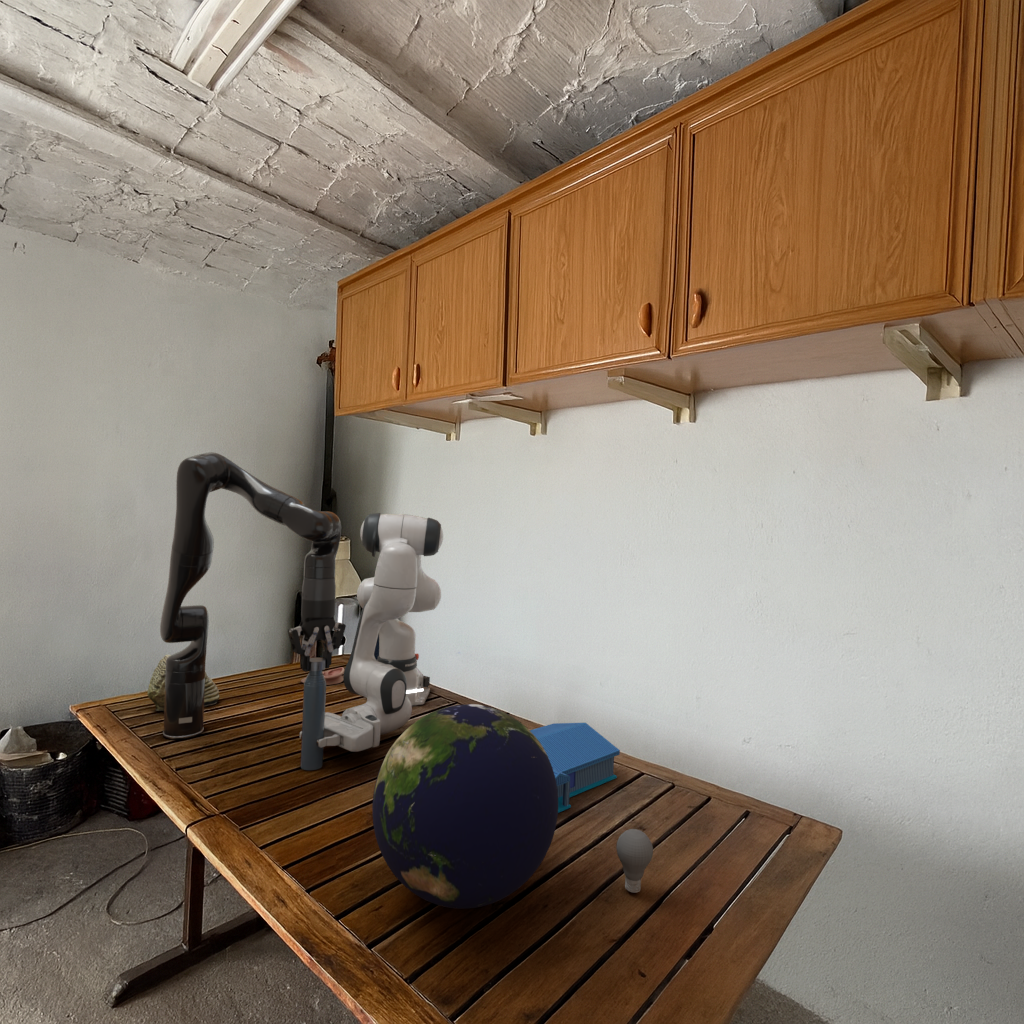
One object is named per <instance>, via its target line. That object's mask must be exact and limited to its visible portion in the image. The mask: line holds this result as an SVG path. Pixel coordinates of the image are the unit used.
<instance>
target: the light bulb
mask: <svg viewBox="0 0 1024 1024" xmlns="http://www.w3.org/2000/svg"><path fill="white" fill-rule="evenodd" d="M615 849H616V854H617V857H618V859H619V861H620V863H621V865H622V867H623V873H624V874H623V875H624V876H625V878H624V888H625V890H627V891H628V892H630V893H634V894H635V893H639V892H640V891H641V889H642V887H641V886H642V879H643V877H644V875H645V871H646V868H647V867H648V866H649V864H650V863H651V861H652V859H653V855H654V847H653V843H652V841H651V838H649V836H648V835H647V834H646V833H645V832H643V831H642V830H641V829H636V828H629V829H627V830H625V831H623V832H622V833H621V834H620V835H619V837H618V839H617V841H616V847H615Z"/></svg>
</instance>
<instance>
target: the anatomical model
mask: <svg viewBox="0 0 1024 1024" xmlns="http://www.w3.org/2000/svg"><path fill="white" fill-rule="evenodd" d="M344 671H345V668H344V667H341V666H340V667H336V668H332V669H328V670H325V671H322V673H323V675H324V677H325V680H326V686H329V685H336V684H341V683H342V682H344V679H343V675H344ZM306 678H307V676H305V677H303V678H302V679H300V682H301V683H303V684H304V682H305V680H306Z"/></svg>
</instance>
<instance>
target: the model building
mask: <svg viewBox="0 0 1024 1024" xmlns="http://www.w3.org/2000/svg"><path fill="white" fill-rule="evenodd" d="M529 730H530V732H531V733H532V734H533V735H534V736H535V737H536V738H537V739H538V741H539V742H540V743H541V745H542V747H543V748H544V750H545V752H546V753H547V756H548V758H549V761H550V763H551V765H552V768H553V772H554V775H555V779H556V784H557V791H558V814H559V813H562V812H563V811H566V810H569V809H571V808H572V805H571V804H570V798H572V797H575V796H577V795H580V794H582V793H585V792H587V791H589V790H591V789H594V788H597V787H599V786H601V785H603V784H605V783H609V782H610V781H613V780H615V779H617V778H618V776H617V775H616V774H614V771H615V770H614V768H615V767H614V765H615V757H617V756H620V754H621V750H620V749H619V748H618V747H617V746H616V745H614V744H613V743H612V742H611V741H610V740H607V738H605V737H604V736H603V735H601V734H600V733H599V732H598V731H597V730H596V729H594V728H593V727H592V726H591V725H589V724H588V723H587V722H560V723H559V722H558V723H555V722H554V723H550V724H546V725H544V726H543V725H542V726H540V727H537V728H533V729H529Z"/></svg>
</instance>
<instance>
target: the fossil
mask: <svg viewBox="0 0 1024 1024" xmlns="http://www.w3.org/2000/svg"><path fill="white" fill-rule="evenodd" d="M171 655H172V654H165V655H164V656H163V657H162V658H161V659H160V660H159V662H158V663H157V666H156V667H155V669H154V670H153V672H152V675H151V677H150V680H149V684H148V688H147V697H148V699H149V700H150V701H152V703H153V704H154V706H155V711H158V712H159V711H162V712H163V711H164V705H165V674H166V660H167V658H168V657H169V656H171ZM220 698H221V696H220V690H219V688H218V686H217V685H216V683H215V682H214V681H213V679H212V678H211V677H209V675H208V674H207V672H206V671H205V693H204V707H207V706H213V705H215V704H217V703H218V701H219V699H220Z"/></svg>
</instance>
